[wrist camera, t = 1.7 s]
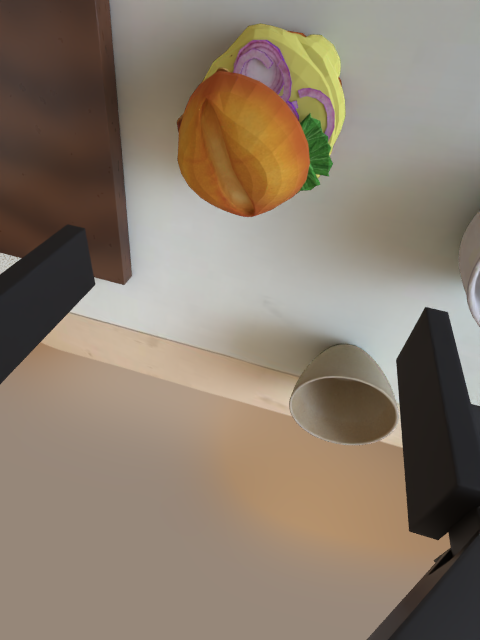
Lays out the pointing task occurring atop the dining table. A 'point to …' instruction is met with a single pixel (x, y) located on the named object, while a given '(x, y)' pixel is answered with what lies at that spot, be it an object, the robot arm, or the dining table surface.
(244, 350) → the dining table surface
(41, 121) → the serving board
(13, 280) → the robot arm
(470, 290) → the teacup
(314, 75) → the cheeseburger
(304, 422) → the bowl
